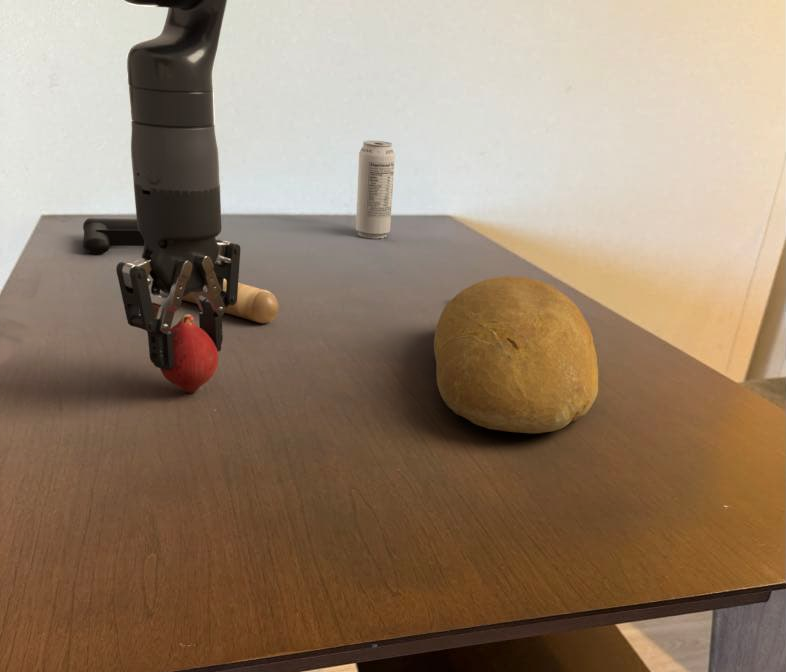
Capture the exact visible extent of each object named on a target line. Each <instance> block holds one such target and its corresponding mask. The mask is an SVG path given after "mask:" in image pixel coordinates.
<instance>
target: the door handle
mask: <svg viewBox="0 0 786 672" xmlns="http://www.w3.org/2000/svg"><path fill="white" fill-rule="evenodd" d="M82 229H83V248H84V250H85V251H87V252H88V253H90V254H94V255H101V254H104V253H106V252H108V251H109V250H110V247H144V239H143V236H142V235H141V233H140V231H139V230H138V227H137V217H135V218H134V217H89V218H86V219H85V220H84V222H83V224H82Z"/></svg>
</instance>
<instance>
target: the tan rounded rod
mask: <svg viewBox="0 0 786 672" xmlns="http://www.w3.org/2000/svg"><path fill="white" fill-rule="evenodd" d="M226 286H227V281H226V279H224V280H223V290H224V291H226ZM182 301H185V302H188V303H192V304H194V305H198V304H197V301H196V299H195V297H194V295H193V294H192V293H191V292H190V293H189V294H187V295H186V296H183V298H182ZM279 307H280V306H279V302H278V299H277V297H276V296H275V295H274V294H273V293H272V292H271V291H269V290H266V289H263V288H259V287H256V286H252V285H247V284H244V283H241V282H238V294H237V302H236V304H235V305H233V306H232V305H229V306H227V307H226V308H225V312H224V314H228V315H231V316H235V317H238V318H242V319H245V320H248V321H253V322H255V323H259V324H267V323H270V322H272V321H273V320H274V319H275V318H276V317H277V315H278V312H279Z"/></svg>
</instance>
